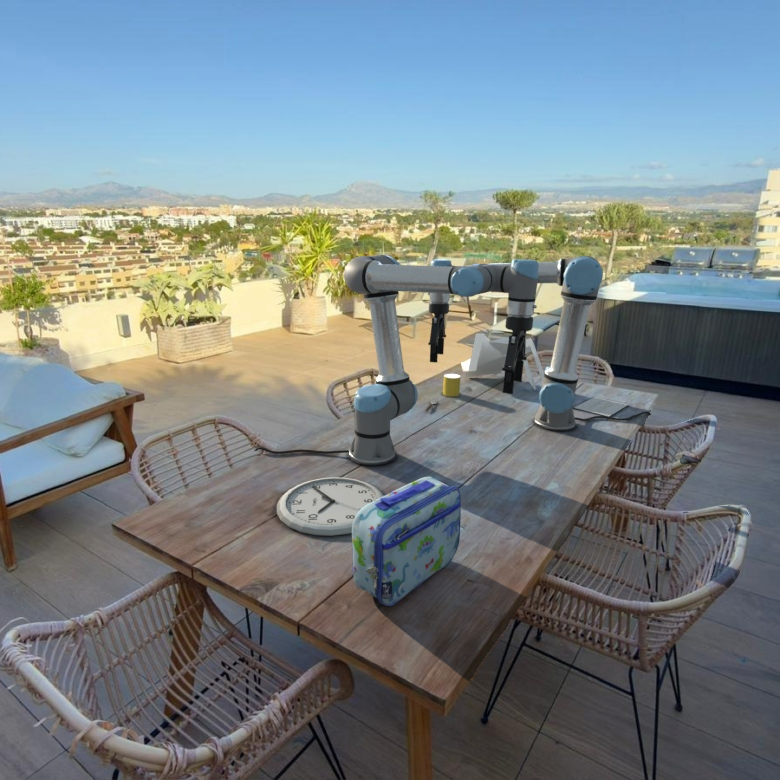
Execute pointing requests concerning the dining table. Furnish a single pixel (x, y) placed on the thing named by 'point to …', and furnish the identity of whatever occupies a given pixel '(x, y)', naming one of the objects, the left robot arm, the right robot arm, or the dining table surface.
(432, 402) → the fork
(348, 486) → the wall clock
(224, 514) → the dining table surface
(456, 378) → the canister
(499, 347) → the white plastic object
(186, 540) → the dining table surface
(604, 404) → the grey flat slab
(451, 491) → the lunch box
